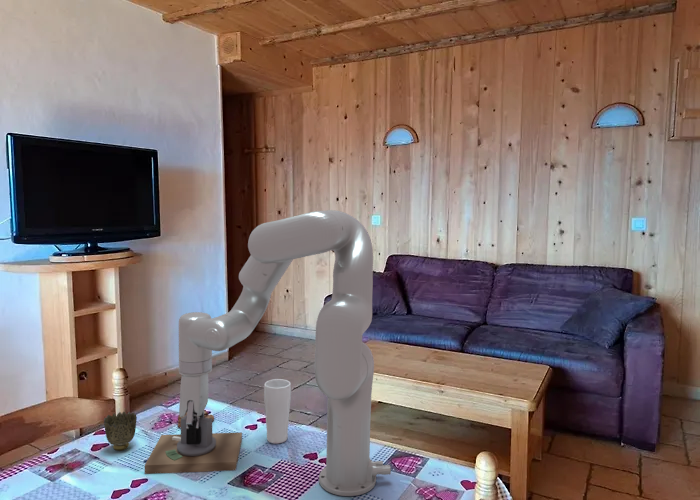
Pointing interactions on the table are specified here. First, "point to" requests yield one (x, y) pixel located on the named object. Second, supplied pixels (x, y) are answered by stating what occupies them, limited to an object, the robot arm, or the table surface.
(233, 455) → the wooden board
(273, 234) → the robot arm
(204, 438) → the tuning knob
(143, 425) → the table surface
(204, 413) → the cookie
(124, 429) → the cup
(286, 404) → the drinking glass
